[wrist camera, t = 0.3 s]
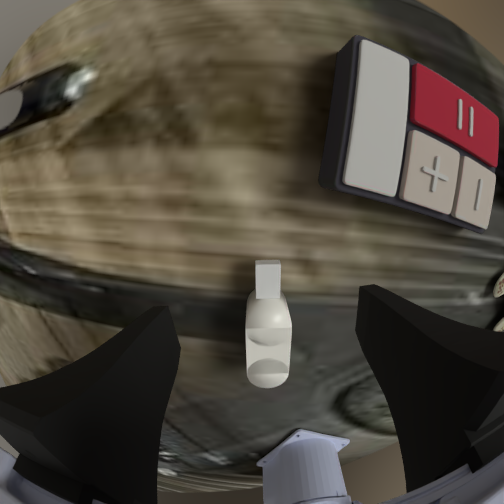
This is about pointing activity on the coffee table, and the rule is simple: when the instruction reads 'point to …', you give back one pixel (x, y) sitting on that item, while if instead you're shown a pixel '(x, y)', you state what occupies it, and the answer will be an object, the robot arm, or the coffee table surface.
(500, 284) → the decorative turtle
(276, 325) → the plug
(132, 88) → the coffee table surface
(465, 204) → the calculator
